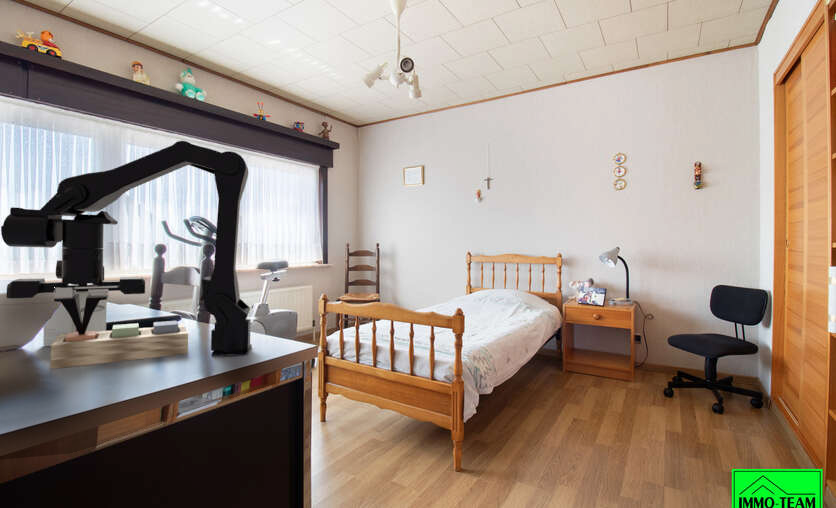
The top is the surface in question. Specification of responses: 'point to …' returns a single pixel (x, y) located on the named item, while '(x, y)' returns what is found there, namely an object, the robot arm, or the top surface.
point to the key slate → (165, 327)
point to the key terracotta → (81, 336)
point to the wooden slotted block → (117, 347)
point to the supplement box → (65, 325)
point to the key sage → (125, 330)
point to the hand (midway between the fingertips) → (82, 334)
